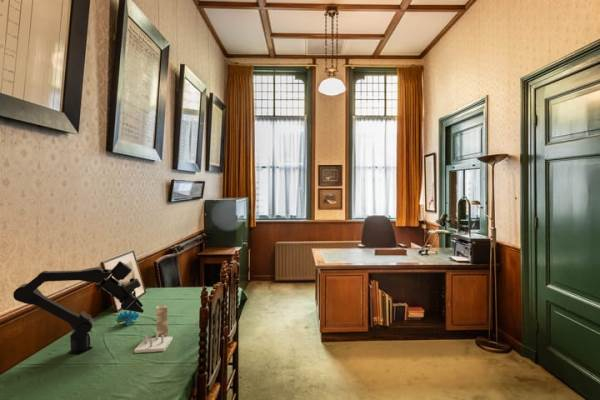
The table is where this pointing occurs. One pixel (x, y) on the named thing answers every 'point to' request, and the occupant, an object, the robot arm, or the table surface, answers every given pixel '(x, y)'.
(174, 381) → the table surface
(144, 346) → the pin plate
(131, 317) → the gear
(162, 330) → the maple block
